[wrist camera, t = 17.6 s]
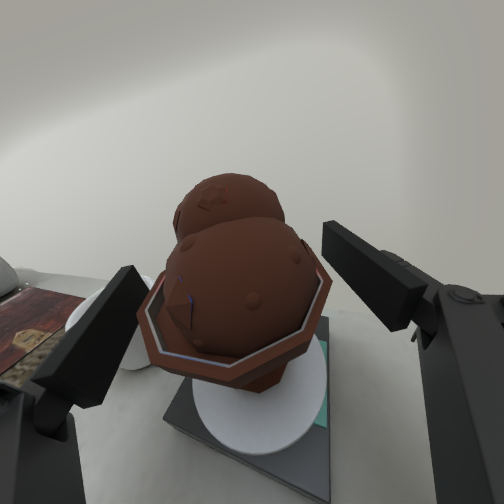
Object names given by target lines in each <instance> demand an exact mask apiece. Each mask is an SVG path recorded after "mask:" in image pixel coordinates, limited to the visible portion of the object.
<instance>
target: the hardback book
mask: <svg viewBox="0 0 504 504" xmlns="http://www.w3.org/2000/svg"><path fill="white" fill-rule="evenodd" d="M86 299H87V298H82V297H77V296H72V295H68V294H63V293H58V292H53V291H49V290H44V289H39V288H34V287H29V288H27V289H25V290H23V291H21V292H20V293H18V294H16V295H14V296H12V297H11V298H9V299H7V300H5V301H3V302H2V303H0V379H1V380H3V381H5V382H7V383H9V384H11V385H13V386H15V387H18V388H20V387H21V385H22V384H23V383H24V382H25V381H26V379H27V378H28V377H29V376H30V375H31V373H32V372H33V371H34V370H35V369H36V367H37V366H38V365H39V364H40V363H41V361H42V360H43V359H44V358H45V357H46V355H47V354H48V353H49V352H51V349H52V348H53V347H54V346H55V344H56V343H58V341H59V340H60V338H61V337H62V336H63V335H64V334H65V326H66V323H67V321H68V319H69V317H70V316H71V314H72V313H73V312H74V310H75V309H76V308H77V307H78V306H79V305H80V304H81V303H82V302H83V301H85V300H86Z"/></svg>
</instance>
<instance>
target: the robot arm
mask: <svg viewBox="0 0 504 504" xmlns="http://www.w3.org/2000/svg"><path fill="white" fill-rule="evenodd" d="M322 256H323V258H324V259H325V260H326V261H327V262H328V263H329V264H330V265H331V266H332V267H333V269H334V270H335V271H336V272H337V273H338V274H339V275H340V276H341V277H342V278H343V280H344V281H345V282H346V283H347V284H348V285H349V286H350V287H351V288H352V290H353V291H355V293H356V294H357V295H358V296H359V297H360V298H361V299H362V301H363V302H364V303H365V304H366V305H367V306H368V307H369V308H370V310H371V311H372V312H373V313H374V314H375V315H376V316H377V317H378V318H379V319H380V321H381V322H382V323H383V324H384V325H385V326H386V327H387V328H388V329H389V331H390V332H394V331H398V330H402V329H406V328H407V327H408V325H409V323H410V321H411V320H412V321H413V322H414V323H415V324H416V325H418V327H417V328H416V330H415V332H414V334H413V336H412V338H411V342H414V341H415V340H416V338H417V343H418V351H419V359H420V367H421V376H422V384H423V392H424V400H425V408H426V417H427V425H428V433H429V441H430V450H431V458H432V466H433V474H434V482H435V491H436V499H437V504H504V295H481V294H480V293H478V292H476V291H474V290H472V289H469V288H466V287H463V286H459V285H451V284H448V285H443V284H442V283H440V282H439V281H437V280H435V279H434V278H432V277H431V276H429V275H427V274H426V273H424V272H423V271H421V270H420V269H418V268H416V267H415V266H412V265H411V264H410V263H409V262H407V261H404V259H402V258H400V257H399V256H397V255H396V254H394V253H391V252H388V251H385V250H381V251H379V250H377V249H376V248H374V247H373V246H371V245H370V244H368V243H367V242H365V241H364V240H363V239H361V238H360V237H358V236H357V235H355V234H354V233H352V232H351V231H349V230H348V229H346V228H344V227H343V226H342V225H340V224H339V223H337V222H336V221H334V220H332V221H328V222H323V234H322ZM149 291H150V290H149V288H148V287H147V285H146V284H145V282H144V281H143V279H142V278H141V276H140V275H139V273H138V272H137V270H136V269H135V267H134V266H133V265H130V266H125V267H121V269H120V270H119V271H118V272H117V273H116V275H115V276H114V277H113V278H112V280H111V281H110V282H109V283H108V285H107V286H106V287H105V288H104V289H103V291H102V292H101V293H100V294H99V296H98V297H97V298H96V299H95V301H94V302H93V303H92V304H91V305H90V307H89V308H88V309H87V310H86V312H85V313H84V314H83V315H82V317H81V318H80V319H79V320H78V321H77V323H75V324H74V325H73V326H72V327H71V328H70V329H68V330H67V331H66V332H65V334H64V335H63V336H62V337H61V338H60V340H59V341H58V343H56V344H55V346H54V347H53V348H52V349H51V352H49V353H48V354H47V355H46V357H45V358H44V359H43V360H42V361H41V363H40V364H39V365H38V366H37V367H36V369H35V370H34V371H33V372H32V373H31V375H30V376H29V377H28V378H27V379H26V381H25V382H24V383H23V384H22V385H21V387H20V388H18V387H15V386H13V385H11V384H9V383H7V382H5V381H3V380H1V379H0V504H86V500H85V493H84V486H83V479H82V471H81V464H80V457H79V450H78V443H77V436H76V429H75V421H74V417H73V415H72V414H71V413H69V411H70V409H71V407H72V406H73V404H75V405H77V406H79V407H81V408H83V409H85V408H89V407H93V406H97V405H101V404H102V402H103V400H104V398H105V396H106V394H107V392H108V389H109V387H110V385H111V383H112V381H113V379H114V376H115V374H116V372H117V370H118V368H119V365H120V363H121V361H122V359H123V357H124V355H125V352H126V350H127V348H128V346H129V344H130V342H131V339H132V337H133V335H134V333H135V331H136V329H137V326H138V324H139V322H138V319H137V315H136V313H137V311H138V310H139V308H140V306H141V305H142V303H143V301H144V300H145V298H146V296H147V295H148V293H149Z"/></svg>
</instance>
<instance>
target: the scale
mask: <svg viewBox="0 0 504 504" xmlns="http://www.w3.org/2000/svg"><path fill="white" fill-rule="evenodd" d="M163 420H164V421H166V422H167V423H168V424H170V425H171V426H172V427H174V428H175V429H177V430H179V431H181V432H183V433H185V434H187V435H188V436H190V437H192V438H194V439H196V440H198V441H200V442H202V443H204V444H206V445H208V446H210V447H212V448H213V449H215V450H217V451H219V452H221V453H223V454H225V455H227V456H229V457H231V458H233V459H235V460H236V461H238V462H240V463H242V464H244V465H246V466H248V467H250V468H252V469H254V470H256V471H258V472H260V473H261V474H263V475H265V476H267V477H269V478H271V479H273V480H275V481H277V482H279V483H281V484H283V485H284V486H286V487H288V488H290V489H292V490H294V491H296V492H298V493H300V494H302V495H304V496H306V497H308V498H309V499H311V500H313V501H315V502H317V503H319V504H330V503H331V490H330V397H329V318H328V317H326V316H320V318H319V321H318V324H317V327H316V330H315V333H314V335H313V338H312V340H311V343H310V345H309V348H308V350H307V352H306V353H304V354H302V355H301V356H299V357H297V358H295V359H293V360H291V361H289V362H288V364H287V366H286V369H285V371H284V373H283V376H282V378H281V381H280V383H278V384H276V385H275V386H273V387H271V388H269V389H267V390H266V391H264V392H262V393H260V394H258V393H254V392H250V391H246V390H242V389H234V388H230V387H226V386H222V385H218V384H214V383H210V382H205V381H201V380H197V379H193V378H189V377H185V379H184V380H183V382H182V384H181V386H180V388H179V389H178V391H177V393H176V395H175V397H174V398H173V400H172V402H171V404H170V406H169V407H168V409H167V411H166V413H165V415H164V416H163Z"/></svg>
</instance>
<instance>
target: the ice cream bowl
mask: <svg viewBox="0 0 504 504" xmlns="http://www.w3.org/2000/svg"><path fill="white" fill-rule="evenodd" d="M173 226H174V230H175V234H176V238H177V241H178V243H177V245H176V246H175V248H174V250H173V252H172V253H171V254H170V256H169V258H168V259H167V263H166V270H164V271H163V272H161V273H160V275H159V276H158V278H157V280H156V281H155V283H154V285H153V286H152V288H151V290H150V291H149V293H148V295H147V296H146V298H145V300H144V301H143V303H142V305H141V306H140V308H139V310H138V311H137V313H136V315H137V319H138V322H139V326H140V329H141V333H142V336H143V340H144V343H145V347H146V350H147V354H148V357H149V361H150V363H151V364H153V365H155V366H157V367H160V368H162V369H164V370H166V371H168V372H170V373H173V374H177V375H181V376H185V377H189V378H193V379H197V380H201V381H205V382H210V383H214V384H218V385H222V386H226V387H230V388H234V389H242V390H246V391H250V392H254V393H258V394H260V393H262V392H264V391H266V390H267V389H269V388H271V387H273V386H275V385H276V384H278V383H280V381H281V378H282V376H283V373H284V371H285V369H286V366H287V364H288V362H289V361H291V360H293V359H295V358H297V357H299V356H301V355H302V354H304V353H306V352H307V350H308V348H309V345H310V343H311V340H312V338H313V335H314V333H315V330H316V327H317V324H318V321H319V318H320V316H321V313H322V310H323V307H324V304H325V302H326V299H327V296H328V293H329V290H330V287H331V285H332V282H333V281H332V279H331V278H330V276H329V275H328V273H327V272H326V270H325V269H324V267H323V266H322V264H321V263H320V261H319V260H318V258H317V257H316V255H315V254H314V252H313V251H312V249H311V248H310V247H309V245H308V244H307V243H306V242H305V241H304V240H303V239H300V238H299V237H298V235H297V234H296V233H295V231H294V230H293V228H292V227H290V226H288V225H287V224H285V217H284V212H283V210H282V207H281V205H280V203H279V200H278V198H277V195H276V193H275V192H274V191H273V190H271V189H269V188H268V187H267V186H266V185H265V184H264V183H262V182H260V181H258V180H256V179H254V178H253V177H251V176H248V175H241V174H235V173H227V174H221V175H217V176H213V177H210V178H208V179H205V180H203V181H202V182H200V183H199V184H197V185H196V186H195V187H194V189H192V190H191V191H190V192H189V193H188V194H187V195H186V196H185V197H184V199H183V201H182V202H181V203H180V204H179V205H178V207H177V209H176V212H175V215H174V220H173Z"/></svg>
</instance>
